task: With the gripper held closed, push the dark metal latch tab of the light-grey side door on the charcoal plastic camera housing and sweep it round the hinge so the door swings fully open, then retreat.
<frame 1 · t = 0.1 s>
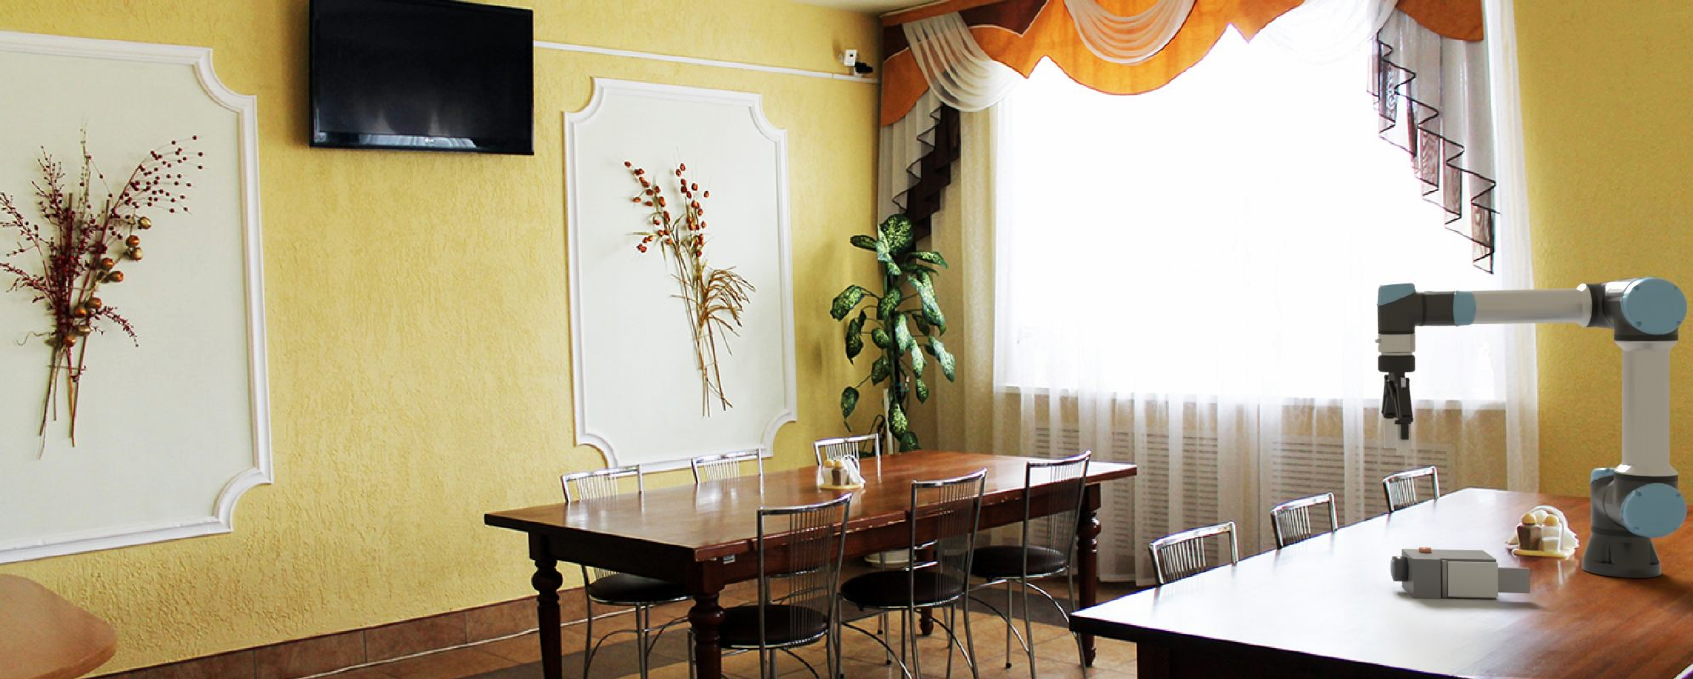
hand: (1397, 451, 289), 28 cm above the table, fingers open, 13 cm apart
housing: (1448, 592, 275), on the table
side door: (1485, 579, 268), point 4 cm above the table, hinge at 0.0°
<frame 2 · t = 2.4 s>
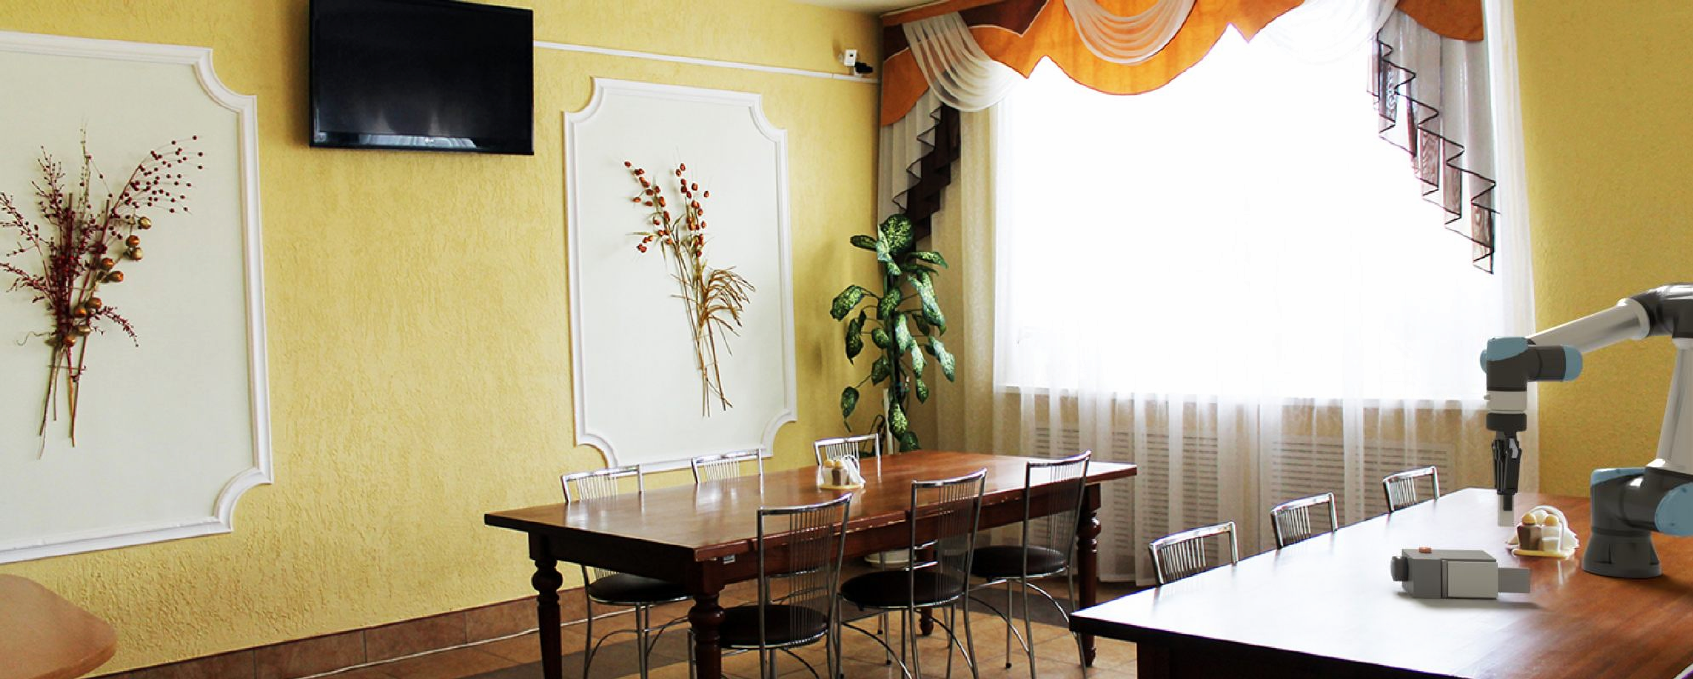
hand: (1505, 525, 273), 14 cm above the table, fingers closed
nothing on the table moved.
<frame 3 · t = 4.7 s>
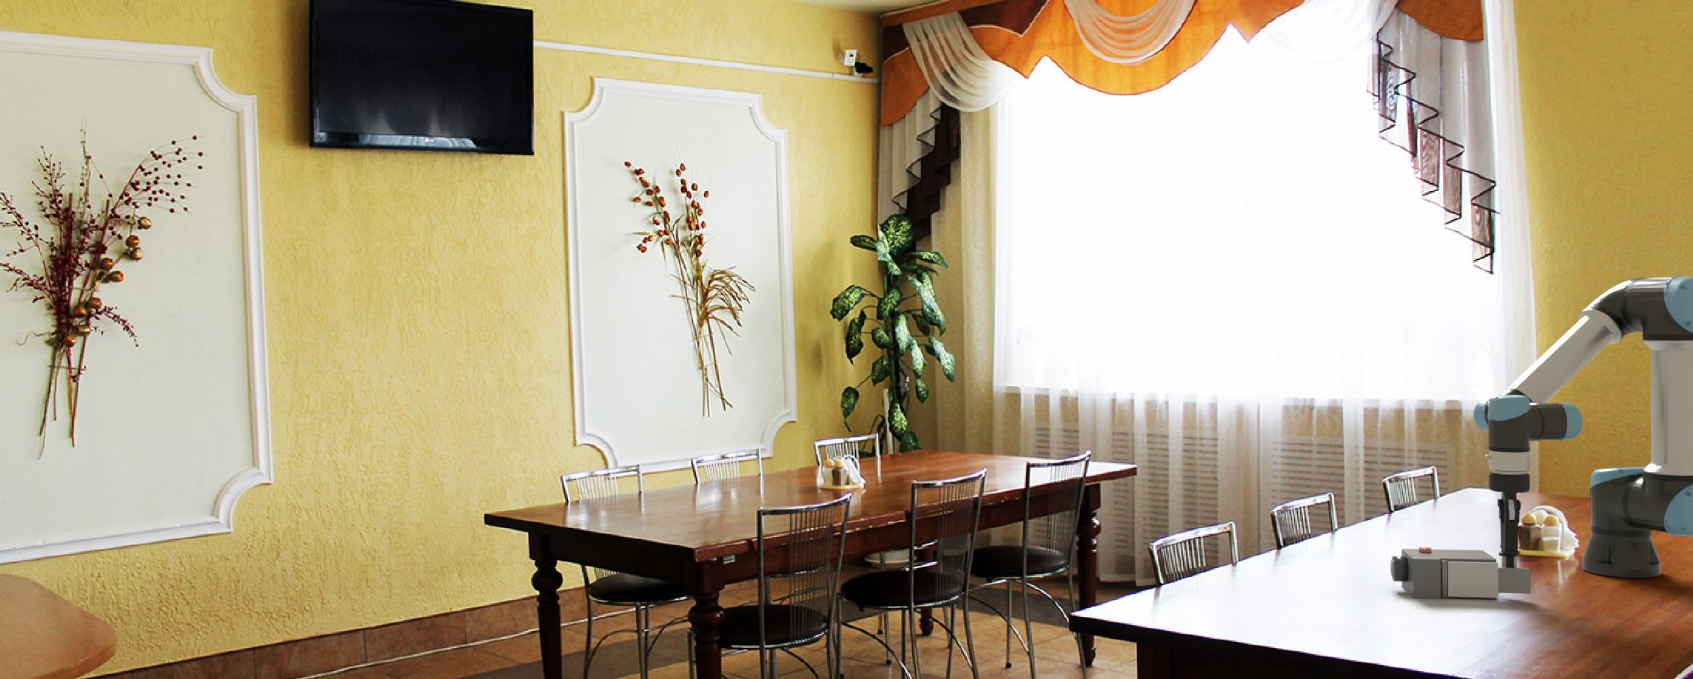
hand: (1509, 587, 269), 2 cm above the table, fingers closed
side door: (1485, 579, 268), point 4 cm above the table, hinge at 1.3°, touching gripper
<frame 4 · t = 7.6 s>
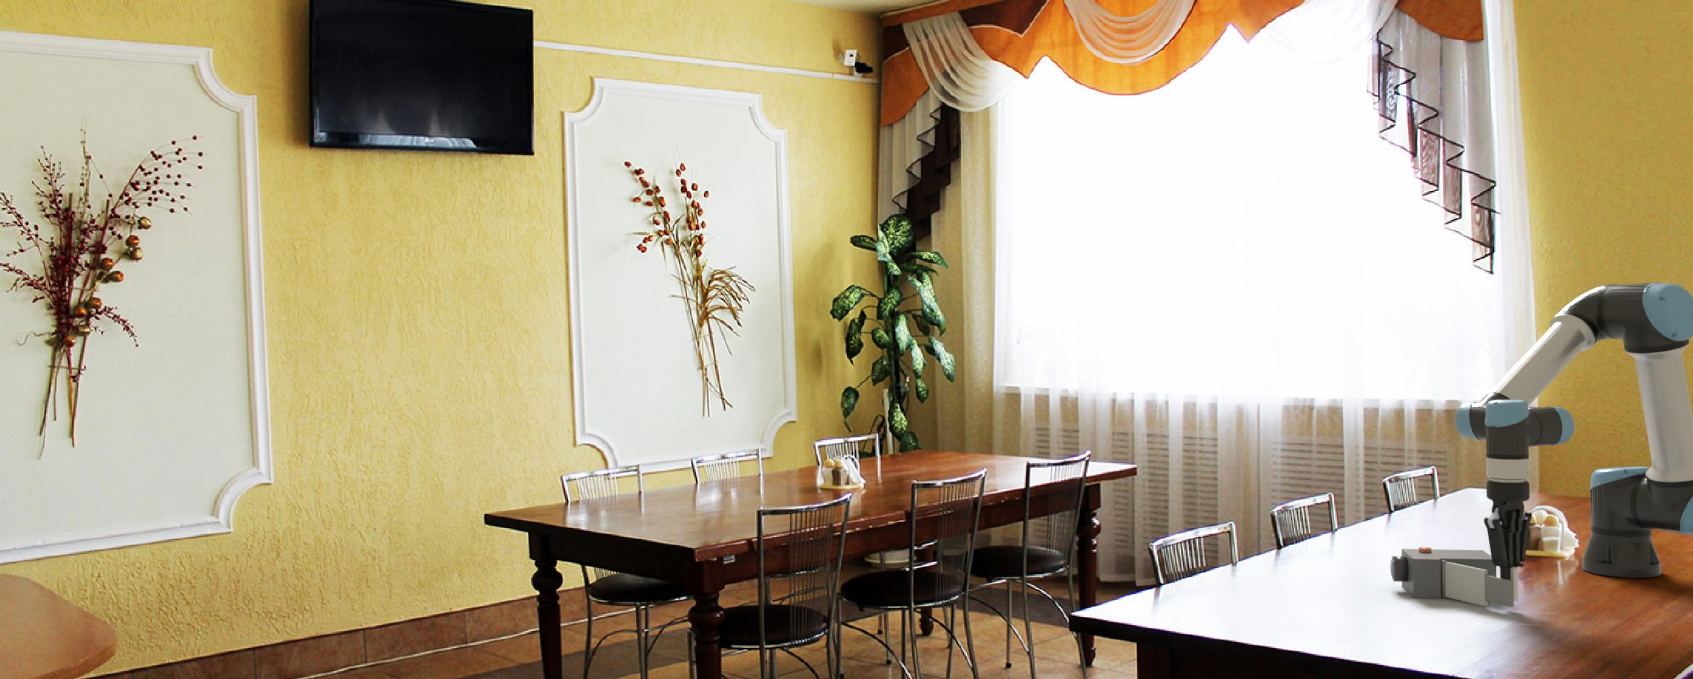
hand: (1509, 599, 259), 2 cm above the table, fingers closed
side door: (1476, 586, 262), point 4 cm above the table, hinge at 54.9°, touching gripper
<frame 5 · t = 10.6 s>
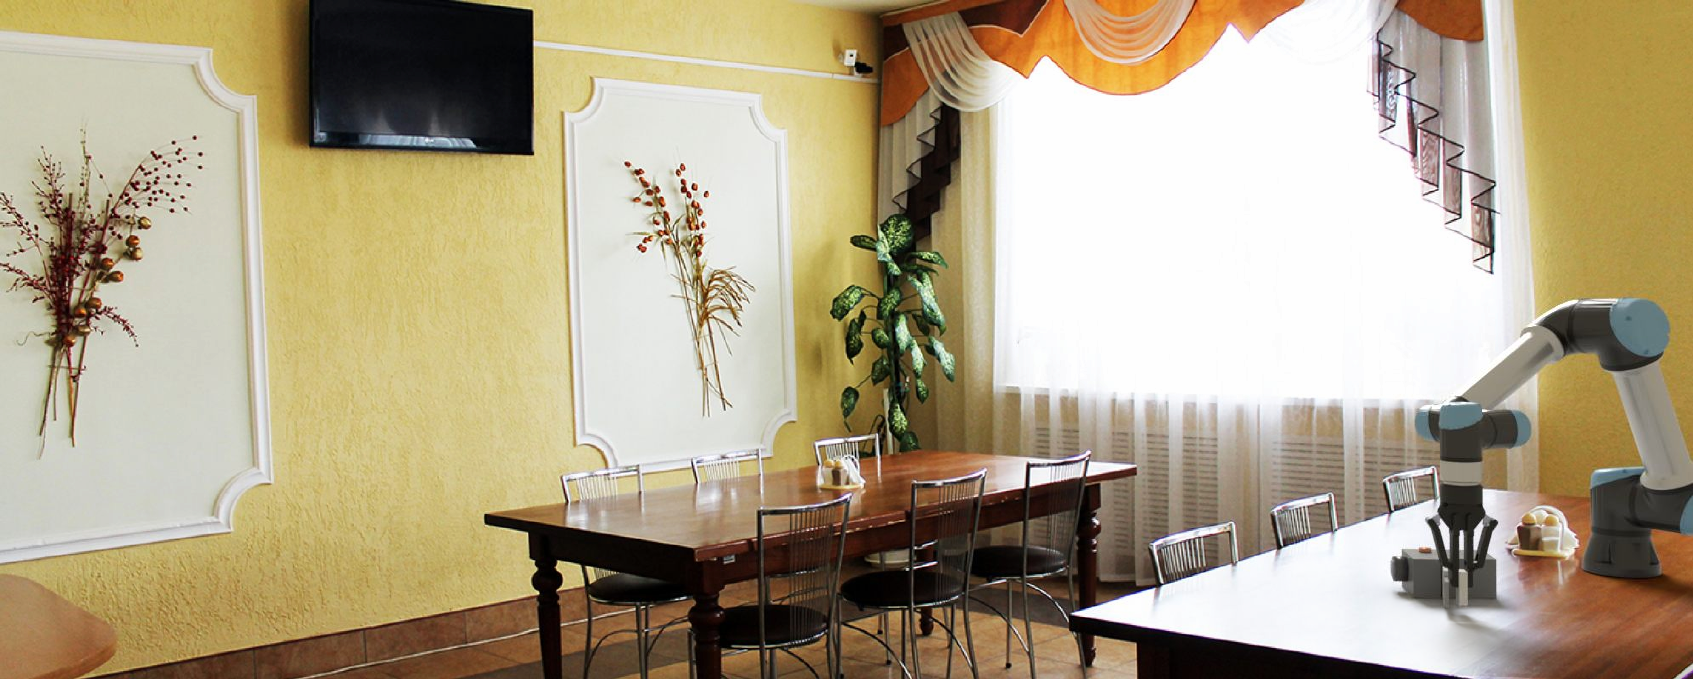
hand: (1461, 603, 256), 2 cm above the table, fingers closed
side door: (1445, 586, 262), point 4 cm above the table, hinge at 101.4°, touching gripper
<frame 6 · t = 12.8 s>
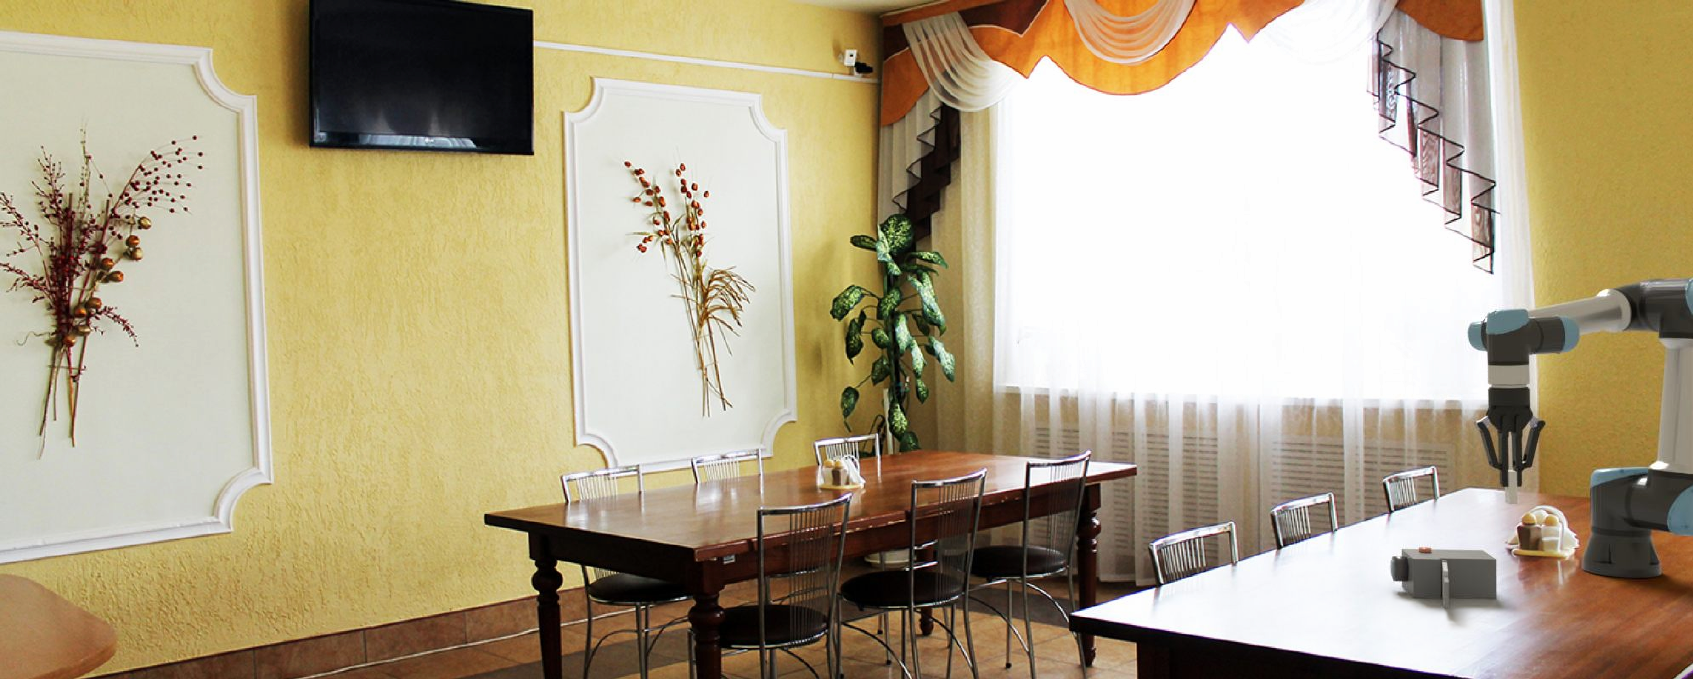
hand: (1511, 502, 266), 20 cm above the table, fingers closed
side door: (1445, 586, 262), point 4 cm above the table, hinge at 101.5°
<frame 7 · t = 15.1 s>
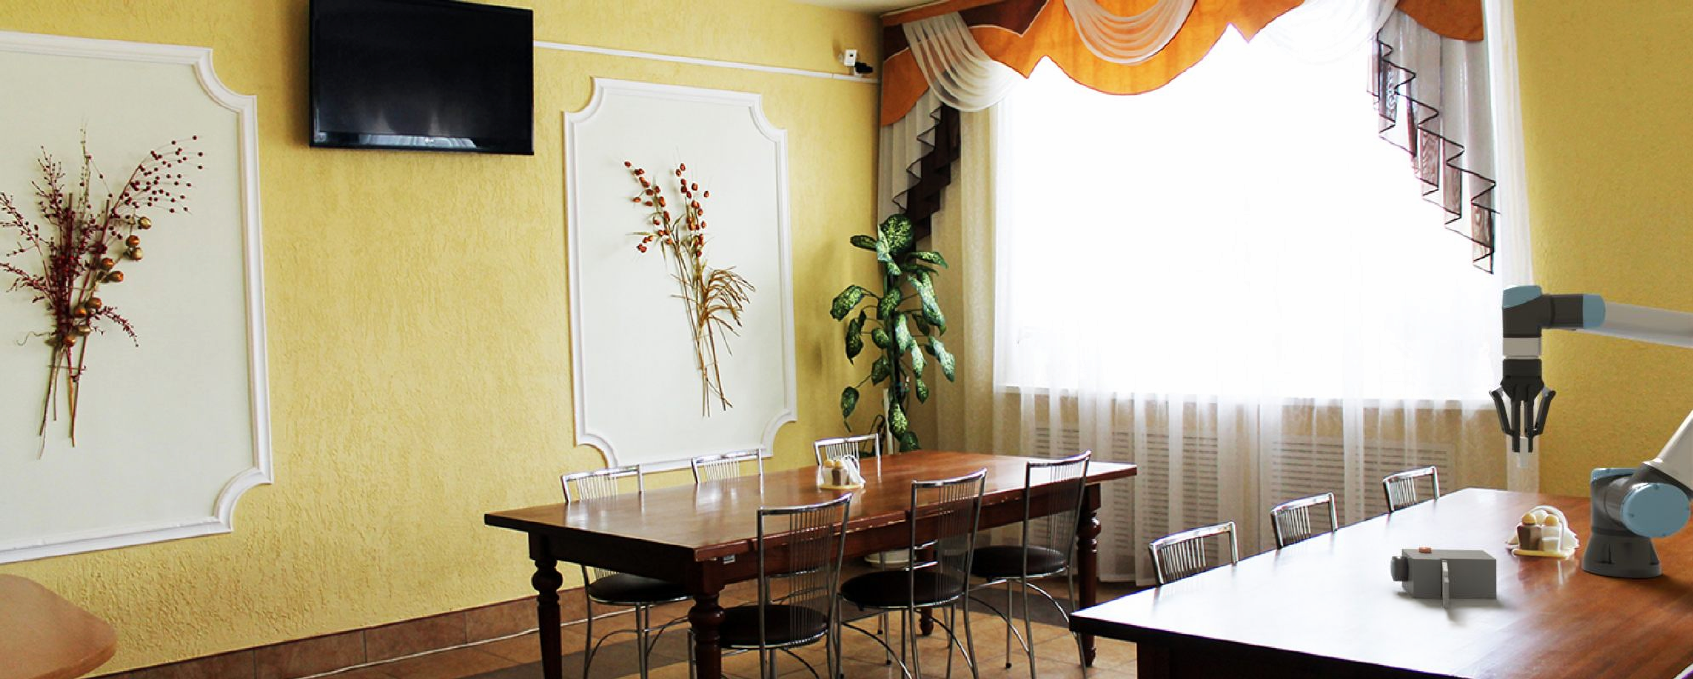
hand: (1522, 467, 283), 24 cm above the table, fingers closed
nothing on the table moved.
at the end: side door at +102° (first picture: +0°); side door touching nothing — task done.
